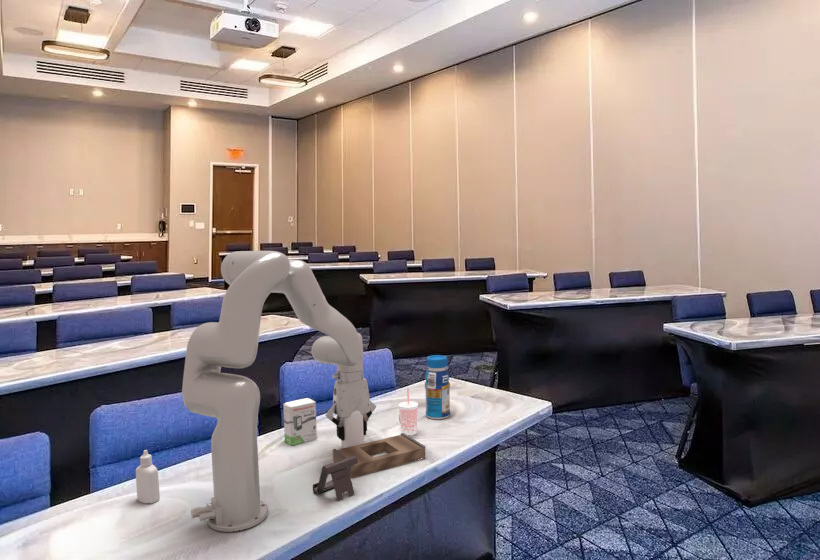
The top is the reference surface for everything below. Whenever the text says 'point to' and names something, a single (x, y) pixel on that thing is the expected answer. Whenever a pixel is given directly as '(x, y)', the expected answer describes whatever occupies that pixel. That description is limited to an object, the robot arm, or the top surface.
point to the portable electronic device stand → (337, 477)
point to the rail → (398, 453)
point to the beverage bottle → (437, 388)
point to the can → (353, 430)
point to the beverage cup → (408, 416)
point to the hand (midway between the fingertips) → (352, 435)
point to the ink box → (300, 421)
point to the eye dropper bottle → (147, 480)
